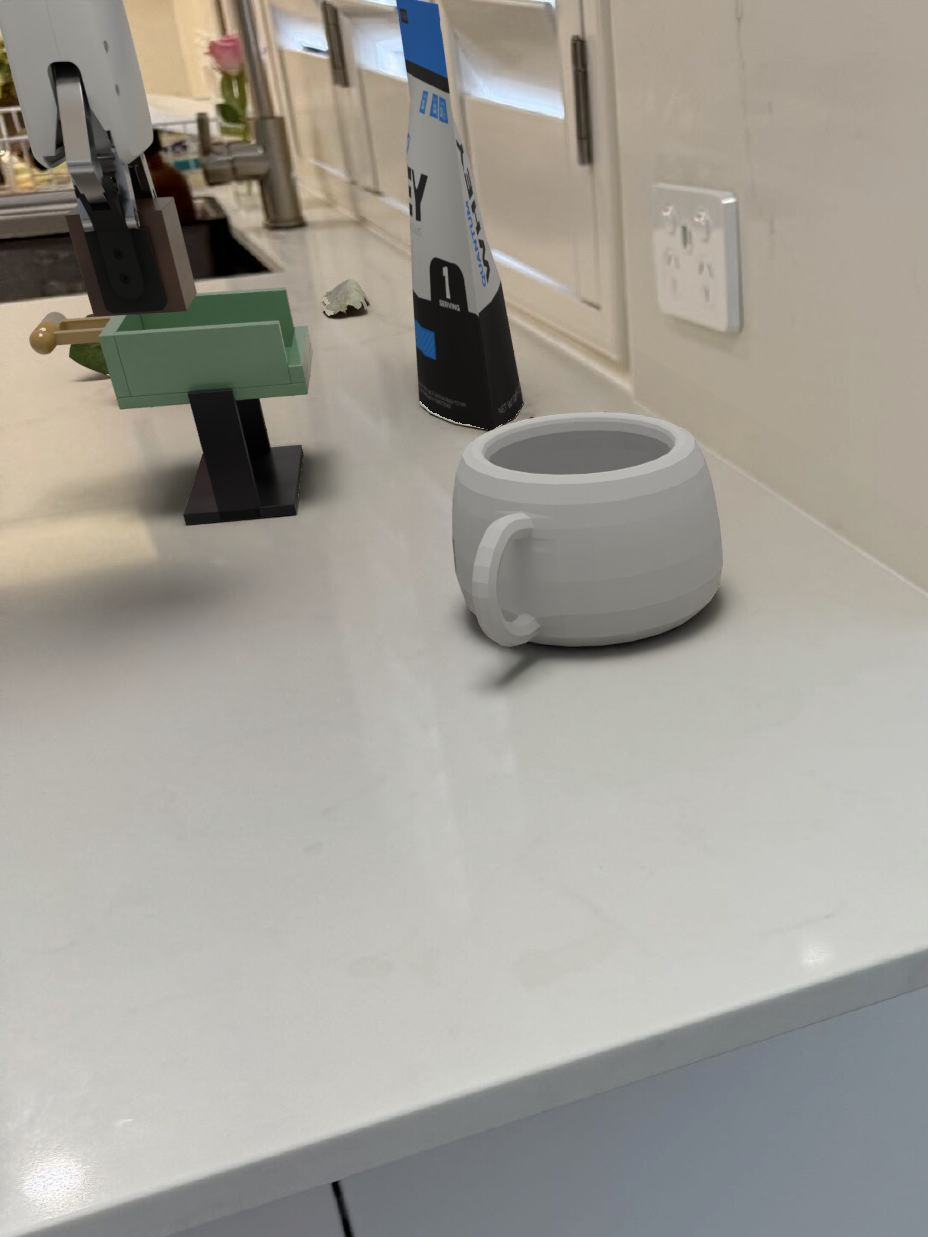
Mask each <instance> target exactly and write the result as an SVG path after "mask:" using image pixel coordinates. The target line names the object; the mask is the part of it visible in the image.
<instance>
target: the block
mask: <svg viewBox="0 0 928 1237" xmlns="http://www.w3.org/2000/svg"><path fill="white" fill-rule="evenodd" d="M175 201H176V200H175V198H174V196H164V197H157V198H142V199H135V202H136V207H137V211H138V216H139V221H140V228H146V227H147V228H148V232H149V236H150V240H151V244H152V248H153V252H154V255H155V259H156V263H157V267H158V271H159V275H160V279H161V283H162V287H163V290H164V294H165V298H166V306H165V307H164V309H163V310H160V311H146V312H131V313H115V314H114V313H110V312H109V311H107V309H106V308H105V306H104V302H103V298H102V295H101V291H100V288H99V284H98V281H97V277H96V274H95V270H94V267H93V263H92V260H91V256H90V253H89V249H88V246H87V242H86V238H85V235H84V232H85V230H84V228H83V225H82V222H81V218H80V213H79V209H78V205H76V206H74V207H73V208H72V209H71V210H70V211H68V212H67V213H66V214H65V215H64V218H65V221H66V225H67V229H68V232H69V236H70V239H71V243H72V246H73V249H74V254H75V256H76V259H77V263H78V266H79V270H80V274H81V277H82V280H83V284H84V287H85V292H86V294H87V298H88V301H89V304H90V309H91V312H92V314H93V315H94V317H103V316H119V315H135V314H151V313H166V312H182V311H187V309H188V308H189V306H190V304H191V303H192V301H193V299H194V297H195V296H196V294H197V293H198V292H197V288H196V287H197V286H196V284H195V281H194V280H195V279H194V275H193V272H192V271H193V270H192V267H191V263H190V258H189V255H188V251H187V247H186V243H185V242H186V241H185V239H184V234H183V230H182V226H181V222H180V218H179V213H178V210H177V205H176V203H175Z"/></svg>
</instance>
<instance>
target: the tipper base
mask: <svg viewBox="0 0 928 1237" xmlns="http://www.w3.org/2000/svg"><path fill="white" fill-rule="evenodd" d="M188 398H189V402H190V404H189V405H190V409H191V414H192V416H193V417H192V418H193V422H194V424H195V428H196V432H197V437H198V439H199V443H200V447H201V451H202V453H201V456H200V458H199V459H200V460H199V462H198V466H197V470H196V472H195V476H194V478H193V482H192V485H191V489H190V491H189V494H188V498H187V501H186V504H185V507H184V510H183V513H182V517H183V520H184V523H185V526H190V525H200V524H201V525H202V524H212V523H223V522H235V521H244V520H254V519H255V520H256V519H265V518H277V517H287V516H296V515H297V514H298V506H299V498H298V494H299V495H300V489H299V486H300V487H301V481H300V477H301V478H302V472H303V463H302V459H303V460H304V455H303V453H304V448H303V445H302V444H291V445H281V446H271V442H270V438H269V433H268V429H267V425H266V420H265V415H264V412H263V408H262V407H263V406H262V403H261V398H258V399H245V400H235V396H234V392H233V388H221V389H208V390H195V391H189V392H188ZM301 469H302V470H301ZM301 471H302V472H301ZM299 484H300V485H299Z"/></svg>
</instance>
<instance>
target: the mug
mask: <svg viewBox="0 0 928 1237" xmlns="http://www.w3.org/2000/svg"><path fill="white" fill-rule="evenodd" d="M458 462H459V463H458V465H457V467H456V471H455V477H454V483H453V491H452V505H451V506H452V507H451V530H452V534H451V535H452V536H451V537H452V540H451V541H452V551H453V561H454V562H453V563H454V573H455V576H456V579H457V582H458V585H459V588H460V591H461V594H462V597H463V598H464V601H465V604H466V608H467V609H468V610H469V611H471V612H472V614H474V615H475V617H476V619H477V622H478V625H479V627H480V629H481V630H482V632H483V633H484V634H485V635H486V637H488V639H491V640H492V641H493V642H495V643H497V644H498V645H500V646H502V647H508V648H510V647H515V646H516V647H517V646H520V645H524V644H526V643H527V642H530V643H534V644H539V645H548V646H559V647H569V648H571V647H599V646H601V647H603V646H609V645H615V644H616V645H617V644H623V643H629V642H630V643H631V642H635V641H638V640H643V639H647V638H650V637H655V636H657V635H658V636H659V635H661V634H663V633H666V632H668V631H670V630H674V629H675V628H677V627H679V626H682V625H683V624H685V623H686V622H688V621H689V620H690V619H692V618H693V617H695V616H696V615H697V614H698V613H700V611H702V610H703V609H704V608H705V607H707V605H708V604H709V603H710V602H711V601H712V599H713V598H714V597H715V595H716V593H717V592H718V590H719V589H720V583H721V577H722V571H723V565H724V557H723V556H724V555H723V554H724V553H723V552H724V551H723V541H722V531H721V522H720V516H719V509H718V503H717V498H716V493H715V488H714V484H713V483H714V482H713V480H712V476H711V473H710V469H709V466H708V463H707V461H706V456H705V454H704V452H703V450H702V449H701V447H700V445H699V444H698V442H697V440H696V439H695V437H694V436H693V435H692V434H691V433H690V431H688V430H687V429H685V428H683V427H681V426H679V425H677V424H674V423H672V422H671V421H670V422H669V421H667V420H663V419H660V418H656V417H652V416H648V415H641V414H634V413H627V412H608V411H587V412H585V411H584V412H583V411H581V412H568V413H557V414H548V415H542V416H536V417H535V418H530V419H529V418H525V419H521V420H518V421H514V422H511V423H506V424H504V425H502V426H501V427H498V428H496V429H494V430H491V431H487V432H485V433H482V434H481V435H479V436H477V437H476V438H474V439H473V440H472V441H471V442H470V443H468V444H467V445H466V446H465V448H464V450H463V452H462V454H461V457H460V460H459V461H458Z"/></svg>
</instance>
